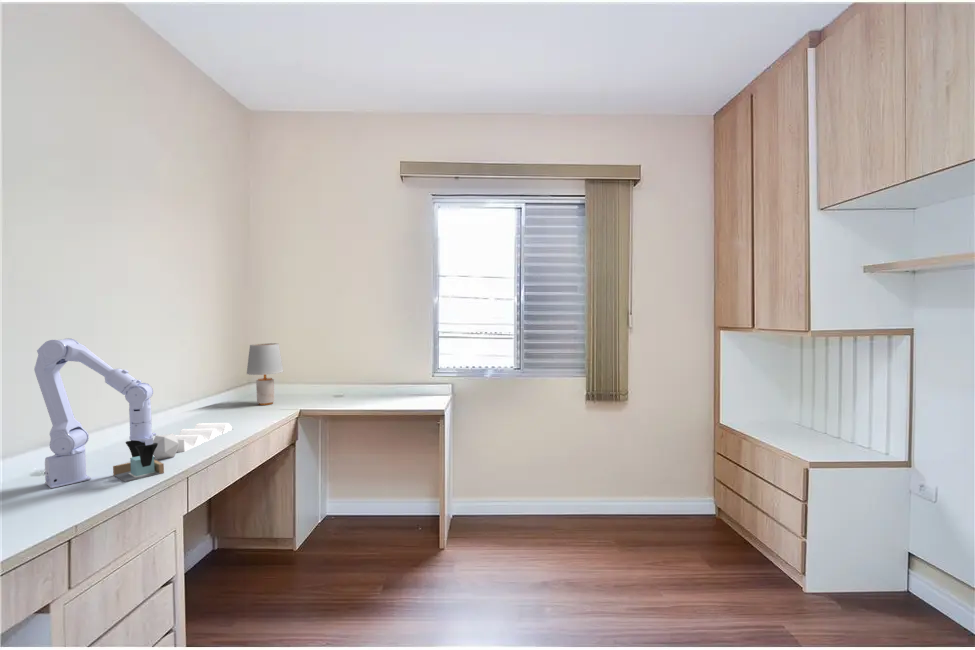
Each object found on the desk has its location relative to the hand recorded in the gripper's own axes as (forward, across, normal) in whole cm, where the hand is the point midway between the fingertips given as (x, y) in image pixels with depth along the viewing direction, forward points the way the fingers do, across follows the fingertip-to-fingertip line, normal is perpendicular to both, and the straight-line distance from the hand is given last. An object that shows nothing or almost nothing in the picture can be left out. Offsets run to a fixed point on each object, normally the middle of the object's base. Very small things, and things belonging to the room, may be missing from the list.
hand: (142, 463), depth 156 cm
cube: (+3, 0, 0) cm, 3 cm away
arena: (+3, +1, +1) cm, 4 cm away
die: (+4, +15, -12) cm, 19 cm away
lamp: (+3, +85, -86) cm, 121 cm away
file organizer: (+4, +33, -28) cm, 44 cm away
